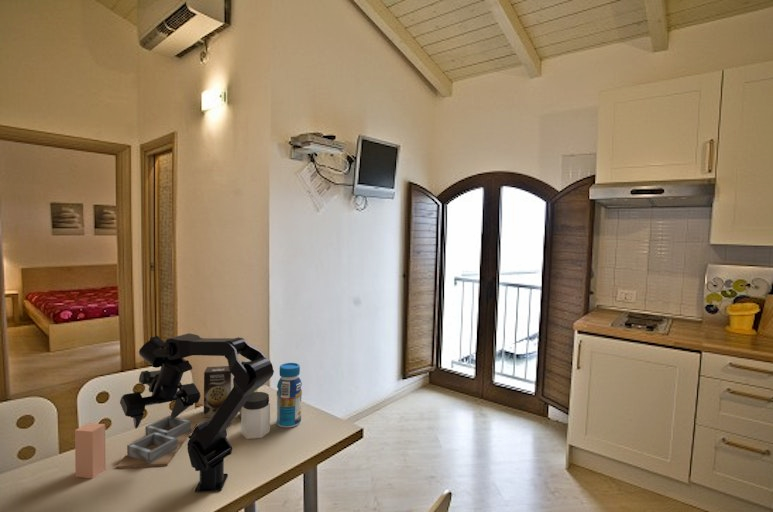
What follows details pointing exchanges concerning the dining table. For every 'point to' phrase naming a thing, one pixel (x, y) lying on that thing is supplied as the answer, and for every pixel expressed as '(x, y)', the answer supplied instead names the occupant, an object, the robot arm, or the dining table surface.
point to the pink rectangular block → (90, 450)
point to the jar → (255, 416)
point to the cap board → (158, 443)
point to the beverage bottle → (289, 396)
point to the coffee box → (216, 388)
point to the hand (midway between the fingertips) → (154, 423)
